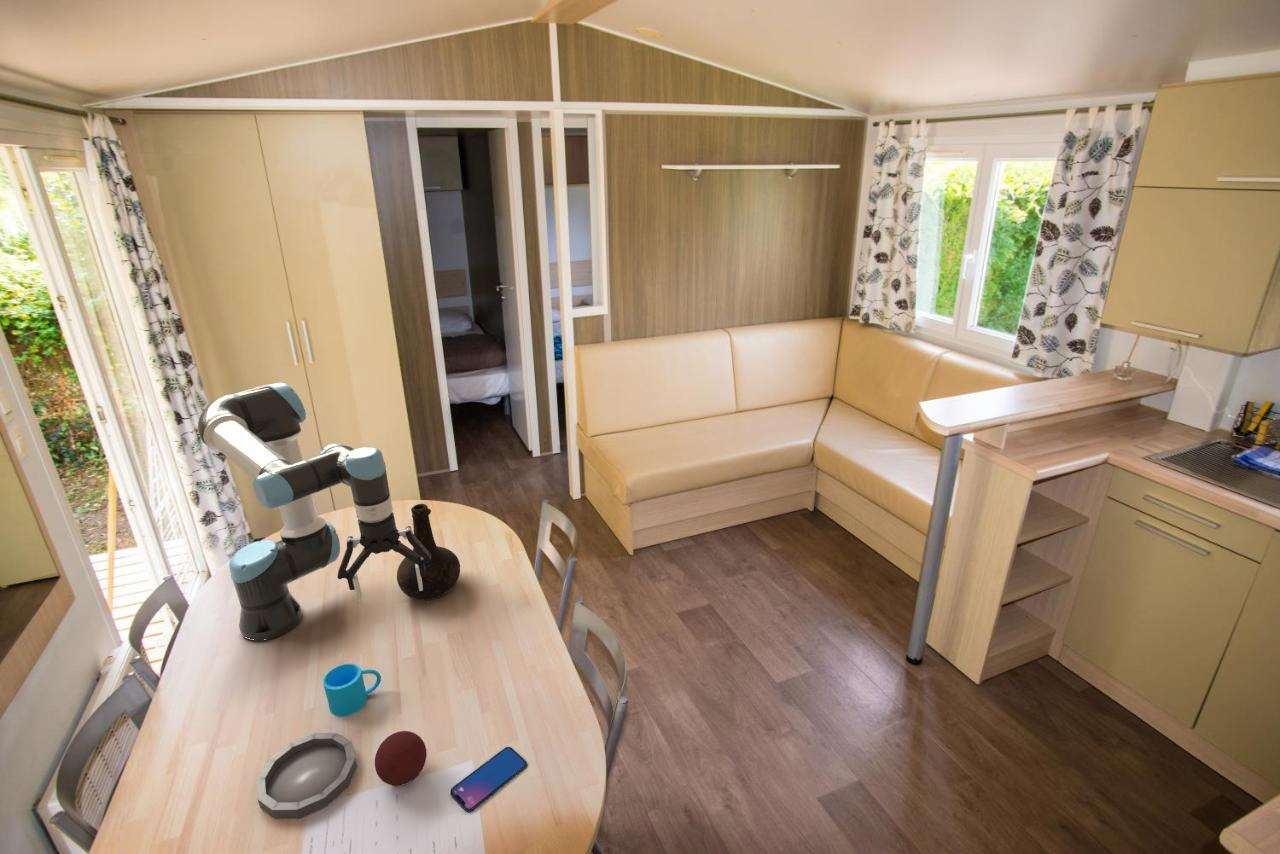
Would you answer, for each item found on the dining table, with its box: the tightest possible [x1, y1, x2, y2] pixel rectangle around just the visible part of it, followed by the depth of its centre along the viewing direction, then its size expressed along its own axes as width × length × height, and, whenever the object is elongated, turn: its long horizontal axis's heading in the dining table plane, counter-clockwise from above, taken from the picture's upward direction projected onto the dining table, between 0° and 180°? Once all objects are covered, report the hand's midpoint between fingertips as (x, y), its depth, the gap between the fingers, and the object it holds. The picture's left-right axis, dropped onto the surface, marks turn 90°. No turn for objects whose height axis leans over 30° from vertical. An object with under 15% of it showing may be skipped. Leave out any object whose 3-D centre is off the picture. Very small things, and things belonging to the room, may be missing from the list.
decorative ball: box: [374, 730, 428, 787], centre depth 132 cm, size 10×10×10 cm
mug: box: [322, 662, 382, 718], centre depth 151 cm, size 12×8×8 cm
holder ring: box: [255, 732, 358, 820], centre depth 133 cm, size 18×18×2 cm
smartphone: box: [449, 746, 528, 814], centre depth 133 cm, size 7×1×15 cm
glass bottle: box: [396, 503, 461, 601], centre depth 186 cm, size 18×18×28 cm
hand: (390, 593), depth 152 cm, fingers open, 13 cm apart
